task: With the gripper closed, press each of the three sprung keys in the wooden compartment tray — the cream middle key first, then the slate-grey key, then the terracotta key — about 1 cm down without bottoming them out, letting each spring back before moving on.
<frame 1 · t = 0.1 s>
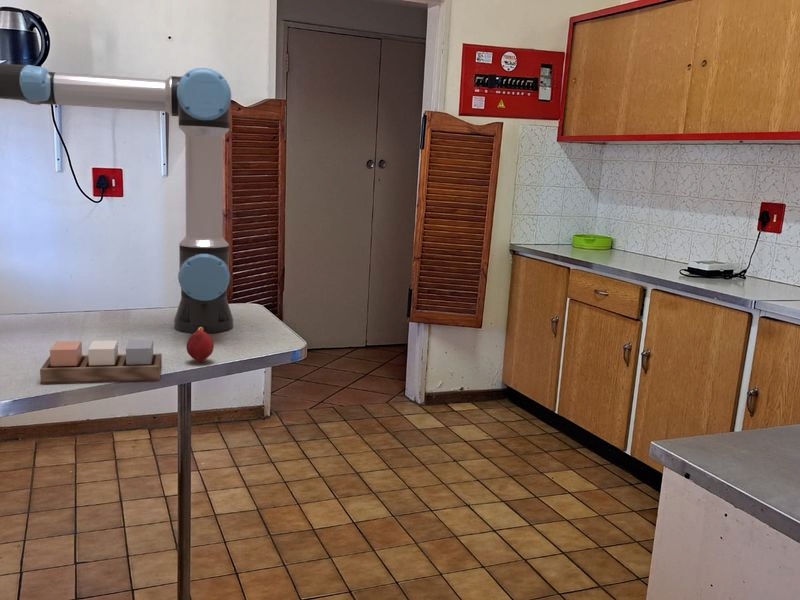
cream key: (103, 352, 151), point 5 cm above the table, slide at 0.1 cm
terracotta key: (66, 353, 149), point 5 cm above the table, slide at 0.0 cm
wooden compartment tray: (104, 375, 152), on the table
onion: (200, 363, 164), on the table
slate key: (139, 352, 153), point 5 cm above the table, slide at 0.1 cm
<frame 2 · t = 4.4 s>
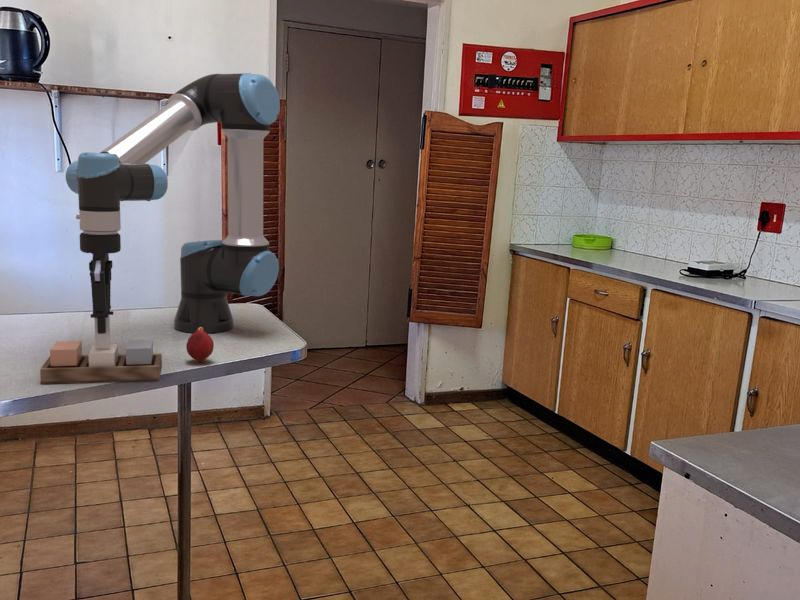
hand: (102, 347, 150), 6 cm above the table, fingers closed
cream key: (103, 356, 151), point 4 cm above the table, slide at 0.9 cm, touching gripper
everything else where it was.
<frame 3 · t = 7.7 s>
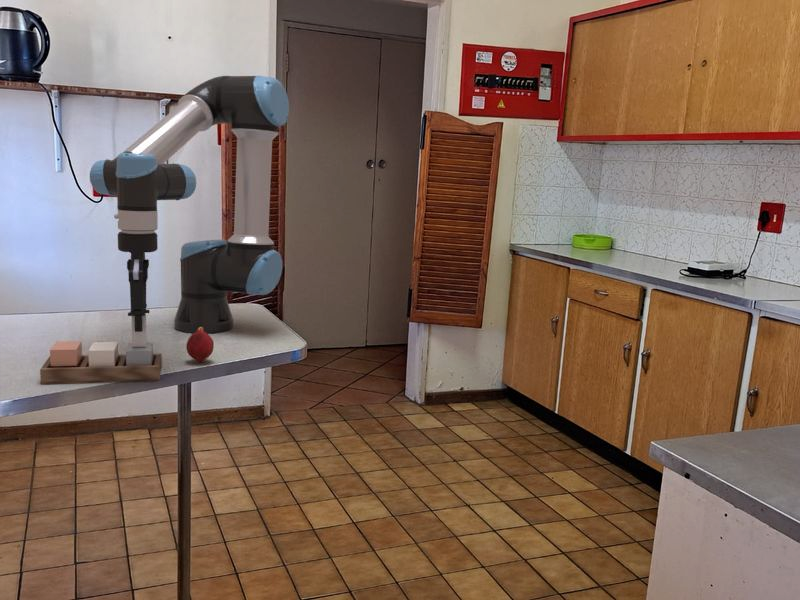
hand: (139, 345, 152), 6 cm above the table, fingers closed
cream key: (103, 354, 151), point 5 cm above the table, slide at 0.3 cm
slate key: (139, 354, 153), point 4 cm above the table, slide at 0.6 cm, touching gripper
everything else where it was.
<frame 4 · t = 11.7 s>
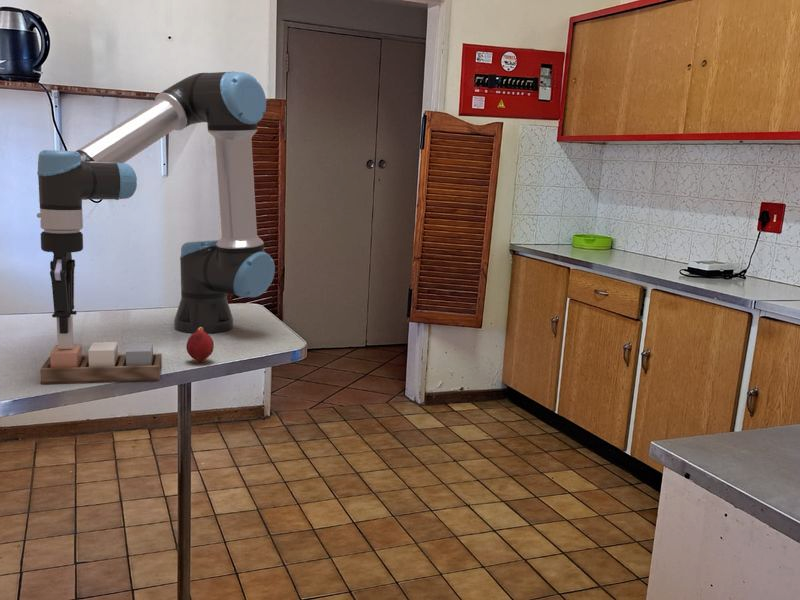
hand: (65, 347, 149), 6 cm above the table, fingers closed
terracotta key: (66, 356, 149), point 4 cm above the table, slide at 0.8 cm, touching gripper
slate key: (139, 354, 153), point 4 cm above the table, slide at 0.7 cm
everything else where it was.
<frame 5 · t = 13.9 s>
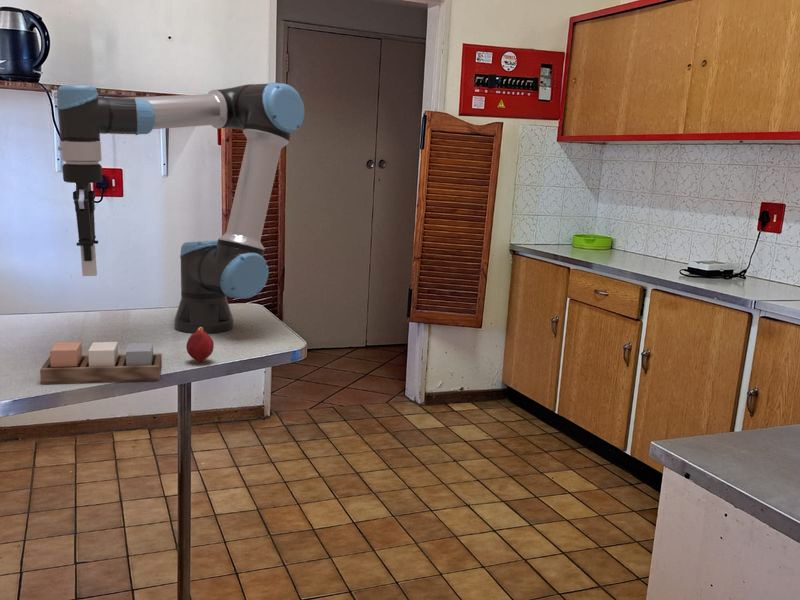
hand: (89, 275, 157), 19 cm above the table, fingers closed
terracotta key: (66, 354, 149), point 5 cm above the table, slide at 0.2 cm
everything else where it was.
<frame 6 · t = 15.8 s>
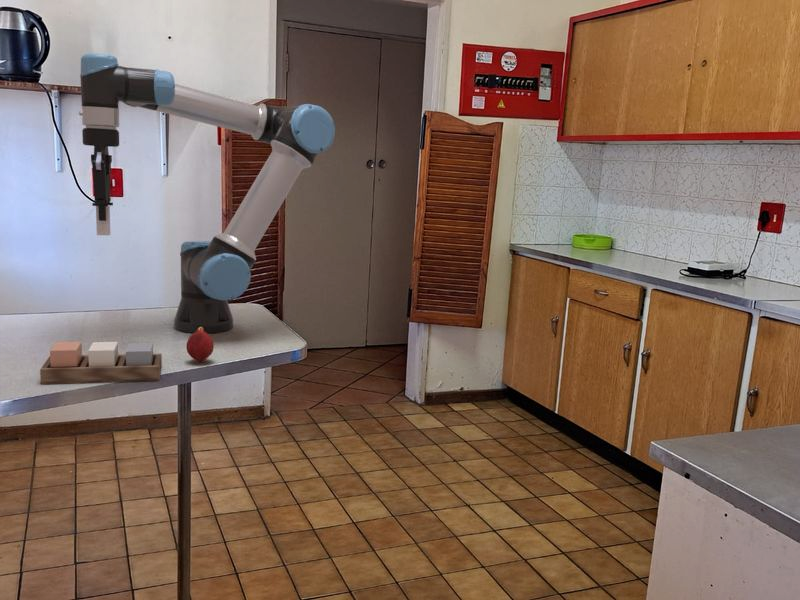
hand: (103, 234, 167), 26 cm above the table, fingers closed
nothing on the table moved.
at the end: cream key slide at 0.3 cm; slate key slide at 0.7 cm; terracotta key slide at 0.2 cm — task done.
